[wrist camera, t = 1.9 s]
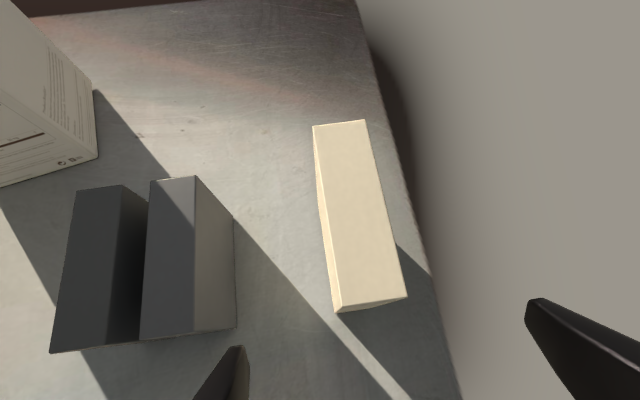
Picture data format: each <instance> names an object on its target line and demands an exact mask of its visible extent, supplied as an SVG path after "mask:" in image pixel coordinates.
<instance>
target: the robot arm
mask: <svg viewBox="0 0 640 400" xmlns="http://www.w3.org/2000/svg"><path fill="white" fill-rule="evenodd" d="M524 321H525V324H526V327H527V328H528V330H529V332H530V333H531V335H532V336H533V338H534V340H535V341H536V343H537V345H538V346H539V348H540V349H541V351H542V353H543V354H544V356H545V357H546V359H547V360H548V362H549V364H550V365H551V367H552V368H553V370H554V371H555V373H556V374H557V376H558V377H559V378H560V380H561V381H562V383H563V384H564V385H565V386H566V388H567V389H568V391H569V392H570V393H571V395H572V396H573V397H574V399H575V400H640V342H638V341H636V340H634V339H632V338H630V337H628V336H625V335H623V334H621V333H619V332H617V331H614V330H612V329H610V328H608V327H606V326H604V325H601V324H599V323H597V322H595V321H593V320H590V319H588V318H586V317H584V316H582V315H580V314H577V313H575V312H573V311H571V310H568V309H567V308H564V307H562V306H560V305H558V304H556V303H553V302H551V301H549V300H547V299H544V298H537V299H531V300H529V301H528V303H527V308H526V312H525V318H524ZM249 380H250V365H249V361H248V357H247V354H246V351H245V348H244V346H243V345H238V346H232V347H230V348H229V349H228V350H227V351H226V353H225V354H224V355H223V357H222V358H221V360H220V361H219V363H218V364H217V365H216V367H215V368H214V370H213V371H212V373H211V374H210V375H209V377H208V378H207V380H206V381H205V382H204V384H203V385H202V387H201V388H200V390H199V391H198V392H197V394H196V395H195V397H194V398H193V400H249Z"/></svg>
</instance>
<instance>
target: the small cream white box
mask: <svg viewBox="0 0 640 400" xmlns="http://www.w3.org/2000/svg"><path fill="white" fill-rule="evenodd" d="M312 129H313V143H314V156H315V170H316V183H317V196H318V207H319V213H320V220H321V227H322V233H323V240H324V246H325V253H326V259H327V266H328V273H329V279H330V286H331V292H332V299H333V305H334V312H335V313H342V312H349V311H355V310H362V309H368V308H373V307H376V306H380V305H384V304H387V303H391V302H394V301H398V300H402V299H405V298H408V294H407V290H406V285H405V281H404V277H403V273H402V269H401V265H400V261H399V257H398V252H397V248H396V244H395V240H394V236H393V232H392V228H391V223H390V219H389V215H388V211H387V207H386V203H385V199H384V195H383V190H382V186H381V182H380V178H379V174H378V170H377V166H376V162H375V157H374V153H373V149H372V145H371V141H370V137H369V133H368V129H367V124H366V120H356V121H349V122H341V123H334V124H326V125H319V126H313V127H312Z"/></svg>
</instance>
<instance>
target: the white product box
mask: <svg viewBox="0 0 640 400" xmlns="http://www.w3.org/2000/svg"><path fill="white" fill-rule="evenodd" d="M97 157H98V150H97V140H96V128H95V117H94V106H93V96H92V85H91V81H90V79H89V78H88V77H87V76H86V75H84V74H83V73H82V72H81V71H80V70H79V69H78V68H77V67H76V66H75V65H74V64H73V63H72V62H71V61H70V60H69V59H68V58H67V57H66V56H65V55H64V54H63V53H62V52H61V51H60V50H59V49H58V48H57V47H56V46H55V45H54V44H53V43H52V42H51V41H50V40H49V39H48V38H47V37H46V36H45V35H44V34H43V33H42V32H41V31H40V30H39V29H38V28H37V27H36V26H35V25H34V24H33V23H32V22H31V21H30V20H29V19H28V18H27V17H26V16H25V15H24V14H23V13H22V12H21V11H20V10H19V9H18V8H17V7H16V6H15V5H14V4H13V3H12V2H11V1H10V0H0V187H3V186H7V185H10V184H13V183H17V182H20V181H23V180H26V179H30V178H33V177H37V176H40V175H43V174H47V173H50V172H53V171H56V170H60V169H63V168H66V167H69V166H73V165H76V164H79V163H82V162H86V161H89V160H92V159H95V158H97Z"/></svg>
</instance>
